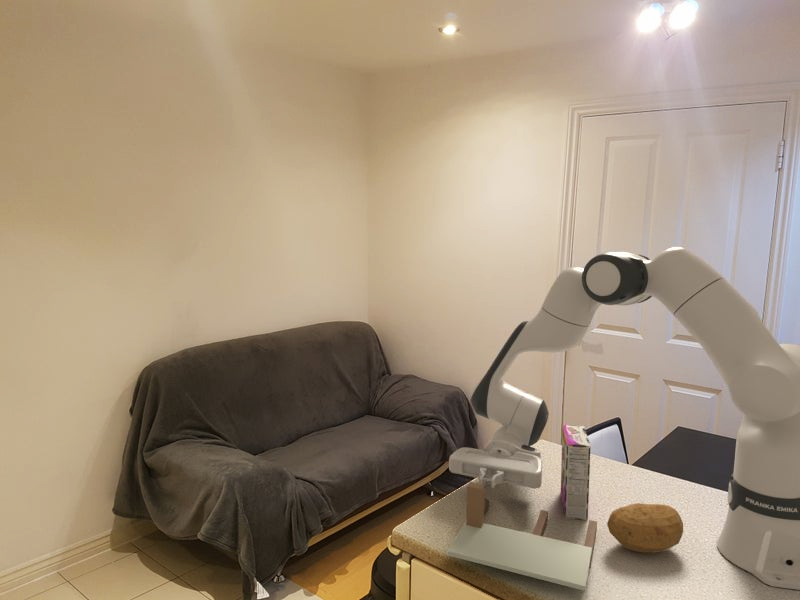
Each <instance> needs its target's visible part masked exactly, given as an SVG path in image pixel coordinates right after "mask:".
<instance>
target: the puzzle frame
mask: <svg viewBox="0 0 800 600" xmlns="http://www.w3.org/2000/svg"><path fill="white" fill-rule="evenodd" d="M488 508H489V509H490V499H489V498H486V497H485V501H484V517H485V516H486V514H487V512H488V510H489V509H488ZM548 522H549V511H548V510H545V509H544V510H543V509H540V511H539V515H538V518H537V520H536V521H535V525H534V528H533V531H532V533H531V534H534V535H538V536H542V537H544V533H545V530H546V528H547V525H548ZM586 529H587V530H586V534H585V540H584V544H583V546H587V547H591V548H592V554H591V560H590V566H589V569H591V567H592V561H593V555H594V547H595V542H596V536H597V532H598V531H597V530H598V521H596V520H592V519H588V524H587V528H586Z"/></svg>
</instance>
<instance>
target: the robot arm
mask: <svg viewBox="0 0 800 600" xmlns="http://www.w3.org/2000/svg"><path fill="white" fill-rule="evenodd" d="M652 297H653V298H655V299H656V300H658V301H659V302H660V303H662V305H663V306H665V308H666V309H667V310H668V311H669V312H670V313H671V314H672V315H673V316H674V317H675V319H677V320H678V322H679V323H680V324H681V325H682V326H683V327H684V328H685V329H686V330H687V332H688V333H689V334H690V335H691V336H692V337H693V338H694V339H695V340H696V341H697V342H698V344H699V345H700V346H701V347H702V349H703V350H704V352H705V353H706V354H707V356H708V357H709V358H710V360H711V362H712V364H713V366H714V367H715V368H716V370H717V371H718V373H719V374H720V376H721V378H722V380H723V381H724V383H725V384H726V386H727V388H728V390H729V395H730V398H731V401H732V403H733V404H734V406H735V407H736V408H737V409H738V410H739V412H740V413H742V414H743V415H742V420H741V423H740V426H739V429H738V431H737V434H736V439H735V440H736V443H735V453H734V464H733V473H732V474H730V478H729V482H728V491H727V504H728V510H727V514H726V517H725V521H724V525H723V527H722V530H721V532H720V535H719V537H718V538H717V541H716V546H717V548H718V551H719V552H720V553H721V554H722V555H723V557H725V558H726V559H727V560H728V561H730V562H731V563H732V564H734V565H735V566H737V567H739V568H741V569H742V570H745V571H746V572H749V573H750V574H752V575H754V576H755V577H756V578H757V579H758V580H760V581H761V582H762V583H764V584H766V585H768V586H771V587H776V588H784V589H791V590H799V591H800V345H798V344H794V343H779V342H777V340H776V339H775V337H774V336H773V335H772V333H771V332H770V331H769V329H768V327H767V326H766V325H765V323H764V321H762V319H761V317H760V315H759V313H758V311H757V309H756V308H755V307H754V306H753V305H752V304H751V303H750V302H749V301H748V300H747V299H746V298H745V297H744V296H743V295H742V294H741V293H740V292H739V291H738V289H736V288H735V287H734V286H732V284H731V283H729V281H728V280H726V279H725V277H723V275H722V274H721V273H719V271H717V270H716V269H715V268H713V266H711V264H709V263H707V261H705V260H704V259H702V258H701V257H700V256H698V255H696V253H694V252H692V251H691V250H689V249H687V248H685V247H683V246H682V247H681V246H673V247H670V248H666V249H664V250H662V251H660V252H658V253H657V254H656V255H655V256H654V257H652V258H651V259H650V258H649V257H647V256H645V255H641V254H635V253H631V252H629V251H628V252H627V251H606V252H603V253H599V254H597V255H595V256H594V257H592V258H591V259H590V260H589V261H588V262H587V263H586V264H585V266H584V267H579V266H573V267H572V266H571V267H567V268H565V269H563V270H562V271H561V272H560V273H559V274H558V275H557V278H556V279H555V280H554V282H553V283H552V286H551V287H550V288H549V290H548V293H547V294H546V296H545V299H544V301H543V303H542V306H541V308H540V310H539V311H538V313H537V314H536V315H535V316H534V317H533V318H532V319H530V320H525V321H522V322H520V323H519V324H518V325H517V326H516V328H514V330H513V332H512V333H511V334H510V336H509V337H508V339H507V340H506V341H505V343H504V345H502V348H501V349H500V351H499V353H498V354H497V356H496V357H495V359H494V360H493V362H492V364H491V365H490V367H489V369H488V370H487V371H486V373H485V374H484V376H483V377H482V378H481V379H480V380H479V381H478V382H477V383H476V385H475V386H474V388H473V390H472V392H471V395H470V400H469V401H470V403H471V404H470V405H471V406H472V409H473V411H474V412H475V415H478V416H481V417H483V418H486V419H488V420H491V421H493V422H496V423H497V424H499V425H500V426H499V427H498V428H497V429H496V430H495V432H494V433H493V435H492V437H491V438H490V439H489V440H488V442H487V444H485V446H484V448H483V449H480V448H473V447H467V446H466V447H460V448H458V449H457V450H455V451H454V452H453V453H452V454H450V455H449V459H448V469H449V472H450V473H452V474H458V475H461V476H467V477H473V478H477V479H479V484H484V485H485V487H489V488H495V486H497V485H501V484H503V483H505V484H509V485H514V486H518V487H519V486H520V487H525V488H529V489H535V490H536V489H540V488H541V487H542V483H543V481H542V480H543V461H542V453H541V450H540V449H539V448H536V447H532V446H533V445H536V444H537V443H538V441H539V440H540V438H541V436H542V434H543V431H544V429H545V427H546V424H547V422H548V419H549V410H548V406H547V403H546V401H545V400H544V399H542V398H540V397H538V396H536V395H534V394H532V393H529V392H528V391H525V390H523V389H521V388H520V387H516V386H514V385H512V384H510V383H508V382H506V381H505V379H504V378H505V375H506V373H508V371H509V369H510V368H511V367H512V365H513V364H514V362H515V360H516V359H517V358H518V356H519V355H521V354H523V353H527V352H538V353H539V352H541V353H553V354H554V353H563V352H567V351H571V350H573V349H574V348H576V347H577V346H578V345H580V343H581V342H582V340H583V338H584V337H585V335H586V333H587V331H588V330H589V327H590V326H591V322H592V320H593V318H594V316H595V313H596V312H597V310H598V308H599V307H600V306H601V305H606V306H616V305H618V306H630V305H635V304H640V303H643V302H646V301H648V300H650V299H652Z"/></svg>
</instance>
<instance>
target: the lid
mask: <svg viewBox="0 0 800 600" xmlns="http://www.w3.org/2000/svg"><path fill="white" fill-rule="evenodd" d="M485 493H486V486H485V485H484V484H480V482H479V483H478V482H473V481H469V482H468V483H467V485H466V511H465V512H466V515H465V516H466V517H465V518H466V519H465V521H464V523H463V525H462V527H460V530H459V531H458V533H457V535H456V537H455V538H454V540H453V541H452V543H451V545H450V546H449V548H448V550H447V556H449V557H453V558H457V559H461V560H464V561H469V562H473V563H477V564H480V565H485V566H488V567H491V568H495V569H499V570H503V571H508V572H511V573H514V574H518V575H523V576H526V577H529V578H530V577H531V578H534V579H537V580H538V579H539V580H542V581H547V582H548V583H549V582H550V583H554V584H556V585H557V584H558V585H562V586H565V587H569V588H573V589H577V590H581V591H584V592H585V591H586V588H587V583H588V578H589V577H588V576H589V571H590V568H589V566H590V560H591V554H592V548H591V547H587V546H584V545H582V544H577V543H573V542H568V541H565V540H564V541H563V540H560V539H555V538H550V537H546V536H543V537H542V536H538V535H534V534H532V533H528V532H525V531H524V532H523V531H520V530H516V529H515V530H514V529H510V528H507V527H502V526H498V525H495V524H494V525H493V524H489V523H485V516H484V501H485V498H486V497H485V495H486V494H485Z"/></svg>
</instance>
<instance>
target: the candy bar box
mask: <svg viewBox="0 0 800 600" xmlns="http://www.w3.org/2000/svg"><path fill="white" fill-rule="evenodd" d="M561 432H562V433H561V461H560V462H561V463H560V465H561V468H560V496H561V502H562V508H563V512H564V513H563V514H564V518H565V517H566V519H570V518H575V519H574V520H582V519H585V521H589V494H590V472H591V471H590V470H591V468H590V467H591V444H590V440H589V437H588V434H587V431H586V428H585V426H583V425H572V424H571V425H569V424H562V431H561Z"/></svg>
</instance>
